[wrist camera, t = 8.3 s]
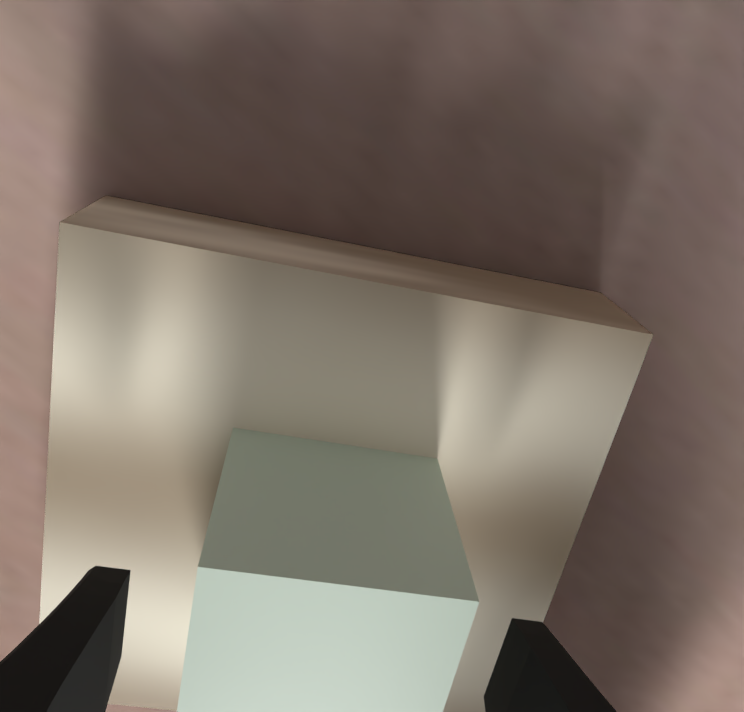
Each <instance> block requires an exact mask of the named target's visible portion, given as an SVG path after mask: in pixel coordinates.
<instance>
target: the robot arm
mask: <svg viewBox="0 0 744 712" xmlns="http://www.w3.org/2000/svg"><path fill="white" fill-rule="evenodd" d="M130 571H131V570H126V569H118V568H110V567H103V566H94V567H93V568H91V569H90V570H88V572H87V573H86V574H85V575H84V576H83V578H82V579H81V580H80V581H79V582H78V583H77V585H76V586H75V587H74V588H73V589H72V590H71V591H70V593H69V594H68V595H67V596H66V597H65V598H64V599H63V600H62V601H61V602H60V603H59V605H58V606H57V607H56V608H55V609H54V610H53V611H52V612H51V613H50V614H49V615H48V616H47V617H46V618H45V619H44V620H43V621H42V622H41V623H40V624H39V625H38V626H37V627H36V628H35V629H34V630H33V631H32V632H31V633H30V634H29V635H28V636H27V637H26V638H25V639H24V640H23V641H22V642H21V643H20V644H19V645H18V646H17V647H16V648H15V649H14V650H13V651H12V652H11V653H10V654H8V655H7V656H6V657H5V658H4V659H3V660H2V661H1V662H0V712H105V710H106V707H107V704H108V701H109V697H110V694H111V691H112V687H113V684H114V680H115V677H116V674H117V670H118V667H119V663H120V660H121V655H122V646H123V637H124V627H125V618H126V609H127V599H128V590H129V581H130ZM484 704H485V712H616V711H615V709H614V708H613V707H612V706H611V705H610V704H609V702H608V701H607V700H606V699H605V698H604V696H603V695H602V694H601V693H600V692H599V691H598V689H597V688H596V687H595V686H594V684H593V683H592V682H591V681H590V680H589V678H588V677H587V676H586V675H585V674H584V672H583V671H582V670H581V669H580V667H579V666H578V665H577V664H576V663H575V661H574V660H573V659H572V658H571V656H570V655H569V654H568V653H567V651H566V650H565V649H564V648H563V646H562V645H561V644H560V643H559V642H558V640H557V639H556V638H555V637H554V635H553V634H552V633H551V632H550V631H549V630H548V628H547V627H546V626H545V625H544V624H543V623H542V622H540V621H532V620H524V619H516V618H512V619H511V622H510V625H509V628H508V630H507V633H506V636H505V639H504V641H503V644H502V647H501V650H500V652H499V655H498V658H497V661H496V664H495V666H494V669H493V672H492V675H491V677H490V680H489V683H488V686H487V688H486V691H485V694H484Z"/></svg>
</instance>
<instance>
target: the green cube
mask: <svg viewBox="0 0 744 712" xmlns="http://www.w3.org/2000/svg"><path fill="white" fill-rule="evenodd" d="M478 605H479V599H478V595H477V592H476V588H475V585H474V582H473V578H472V575H471V571H470V568H469V565H468V561H467V558H466V554H465V551H464V548H463V544H462V541H461V537H460V534H459V531H458V527H457V524H456V520H455V517H454V514H453V510H452V507H451V503H450V500H449V497H448V493H447V490H446V486H445V483H444V480H443V476H442V473H441V469H440V466H439V463H438V459H437V458H430V457H424V456H417V455H410V454H404V453H397V452H391V451H384V450H378V449H371V448H364V447H358V446H351V445H345V444H338V443H332V442H325V441H318V440H312V439H305V438H299V437H292V436H286V435H279V434H272V433H266V432H259V431H253V430H246V429H240V428H233V429H232V433H231V437H230V441H229V445H228V449H227V453H226V457H225V461H224V465H223V469H222V473H221V477H220V481H219V485H218V489H217V493H216V497H215V501H214V505H213V509H212V512H211V516H210V520H209V524H208V528H207V532H206V536H205V540H204V544H203V548H202V552H201V556H200V560H199V564H198V568H197V575H196V582H195V589H194V596H193V603H192V610H191V617H190V624H189V631H188V638H187V645H186V652H185V658H184V665H183V672H182V679H181V686H180V693H179V700H178V707H177V712H443V710H444V707H445V704H446V701H447V698H448V695H449V692H450V689H451V686H452V683H453V680H454V677H455V674H456V671H457V668H458V665H459V662H460V659H461V656H462V653H463V650H464V647H465V644H466V641H467V638H468V635H469V632H470V629H471V626H472V623H473V620H474V617H475V614H476V611H477V608H478Z"/></svg>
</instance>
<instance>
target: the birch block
mask: <svg viewBox="0 0 744 712" xmlns="http://www.w3.org/2000/svg"><path fill="white" fill-rule="evenodd" d="M652 338H653V334H652V333H651V332H649V331H648V330H647V329H646V328H644V327H643V326H642V325H641V324H639V323H638V322H637V321H636V320H634V319H633V318H632V317H631V316H629V315H628V314H627V313H626V312H624V311H623V310H622V309H621V308H619V307H618V306H617V305H616V304H614V303H613V302H612V301H611V300H609V299H608V298H607V297H606V296H604V295H603V294H602V293H600V292H595V291H589V290H584V289H579V288H574V287H569V286H564V285H559V284H554V283H549V282H544V281H539V280H534V279H528V278H523V277H518V276H513V275H508V274H503V273H498V272H493V271H488V270H483V269H478V268H472V267H467V266H462V265H457V264H452V263H447V262H442V261H437V260H432V259H427V258H422V257H417V256H411V255H406V254H401V253H396V252H391V251H386V250H381V249H376V248H371V247H366V246H361V245H355V244H350V243H345V242H340V241H335V240H330V239H325V238H320V237H315V236H310V235H305V234H300V233H294V232H289V231H284V230H279V229H274V228H269V227H264V226H259V225H254V224H249V223H244V222H239V221H233V220H228V219H223V218H218V217H213V216H208V215H203V214H198V213H193V212H188V211H183V210H177V209H172V208H167V207H162V206H157V205H152V204H147V203H142V202H137V201H132V200H127V199H122V198H116V197H111V196H104V197H102V198H101V199H99V200H97V201H95V202H94V203H92V204H90V205H89V206H87V207H85V208H83V209H82V210H80V211H78V212H76V213H75V214H73V215H71V216H69V217H68V218H66V219H64V220H62V221H61V222H60V223H59V243H58V263H57V283H56V303H55V323H54V342H53V362H52V382H51V402H50V422H49V442H48V462H47V482H46V501H45V521H44V541H43V561H42V581H41V601H40V621H39V624H40V623H41V622H42V621H43V620H44V619H45V618H46V617H47V616H48V615H49V614H50V613H51V612H52V611H53V610H54V609H55V608H56V607H57V606H58V605H59V603H60V602H61V601H62V600H63V599H64V598H65V597H66V596H67V595H68V594H69V593H70V591H71V590H72V589H73V588H74V587H75V586H76V585H77V583H78V582H79V581H80V580H81V579H82V578H83V576H84V575H85V574H86V573H87V572H88V570H90V569H91V568H93V567H94V566H103V567H110V568H118V569H126V570H131V571H130V581H129V590H128V599H127V609H126V618H125V627H124V637H123V646H122V655H121V660H120V663H119V667H118V670H117V674H116V677H115V680H114V684H113V687H112V691H111V694H110V697H109V701H108V704H114V705H124V706H134V707H144V708H154V709H164V710H175V711H177V707H178V700H179V693H180V686H181V679H182V672H183V665H184V658H185V652H186V645H187V638H188V631H189V624H190V617H191V610H192V603H193V596H194V589H195V582H196V575H197V568H198V564H199V560H200V556H201V552H202V548H203V544H204V540H205V536H206V532H207V528H208V524H209V520H210V516H211V512H212V509H213V505H214V501H215V497H216V493H217V489H218V485H219V481H220V477H221V473H222V469H223V465H224V461H225V457H226V453H227V449H228V445H229V441H230V437H231V433H232V429H233V428H240V429H246V430H253V431H259V432H266V433H272V434H279V435H286V436H292V437H299V438H305V439H312V440H318V441H325V442H332V443H338V444H345V445H351V446H358V447H364V448H371V449H378V450H384V451H391V452H397V453H404V454H410V455H417V456H424V457H430V458H437V459H438V463H439V466H440V469H441V473H442V476H443V480H444V483H445V486H446V490H447V493H448V497H449V500H450V503H451V507H452V510H453V514H454V517H455V520H456V524H457V527H458V531H459V534H460V537H461V541H462V544H463V548H464V551H465V554H466V558H467V561H468V565H469V568H470V571H471V575H472V578H473V582H474V585H475V588H476V592H477V595H478V599H479V605H478V608H477V611H476V614H475V617H474V620H473V623H472V626H471V629H470V632H469V635H468V638H467V641H466V644H465V647H464V650H463V653H462V656H461V659H460V662H459V665H458V668H457V671H456V674H455V677H454V680H453V683H452V686H451V689H450V692H449V695H448V698H447V701H446V704H445V707H444V710H443V712H485V704H484V694H485V691H486V688H487V686H488V683H489V680H490V677H491V675H492V672H493V669H494V666H495V664H496V661H497V658H498V655H499V652H500V650H501V647H502V644H503V641H504V639H505V636H506V633H507V630H508V628H509V625H510V622H511V619H512V618H516V619H524V620H532V621H540V622H542V623H543V621H544V619H545V616H546V613H547V611H548V608H549V606H550V603H551V600H552V598H553V595H554V593H555V590H556V587H557V585H558V582H559V580H560V577H561V574H562V572H563V569H564V566H565V564H566V561H567V559H568V556H569V553H570V551H571V548H572V546H573V543H574V540H575V538H576V535H577V533H578V530H579V527H580V525H581V522H582V520H583V517H584V514H585V512H586V509H587V507H588V504H589V501H590V499H591V496H592V494H593V491H594V488H595V486H596V483H597V481H598V478H599V475H600V473H601V470H602V468H603V465H604V462H605V460H606V457H607V455H608V452H609V449H610V447H611V444H612V442H613V439H614V436H615V434H616V431H617V429H618V426H619V423H620V421H621V418H622V416H623V413H624V410H625V408H626V405H627V403H628V400H629V397H630V395H631V392H632V390H633V387H634V384H635V382H636V379H637V377H638V374H639V371H640V369H641V366H642V364H643V361H644V358H645V356H646V353H647V351H648V348H649V345H650V343H651V340H652Z"/></svg>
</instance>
